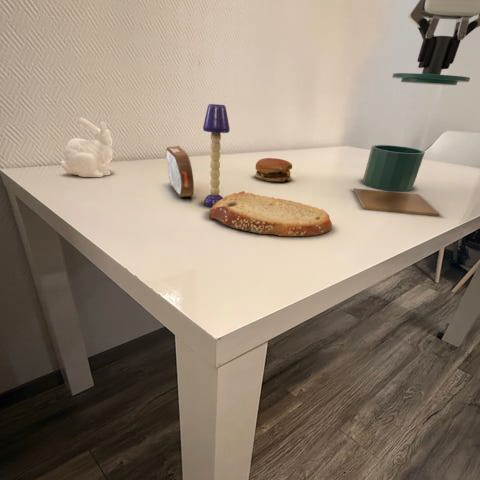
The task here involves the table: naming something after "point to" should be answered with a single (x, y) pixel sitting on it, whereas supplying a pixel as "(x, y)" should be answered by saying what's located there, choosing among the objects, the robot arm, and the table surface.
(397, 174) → the enamel tin
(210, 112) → the toy lamp
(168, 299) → the table surface
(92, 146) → the rabbit
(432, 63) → the tin lid
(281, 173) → the burger
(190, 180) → the tin
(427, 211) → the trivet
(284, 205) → the bread slice
